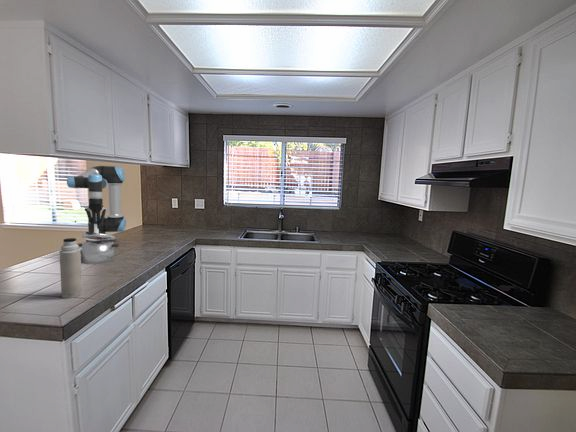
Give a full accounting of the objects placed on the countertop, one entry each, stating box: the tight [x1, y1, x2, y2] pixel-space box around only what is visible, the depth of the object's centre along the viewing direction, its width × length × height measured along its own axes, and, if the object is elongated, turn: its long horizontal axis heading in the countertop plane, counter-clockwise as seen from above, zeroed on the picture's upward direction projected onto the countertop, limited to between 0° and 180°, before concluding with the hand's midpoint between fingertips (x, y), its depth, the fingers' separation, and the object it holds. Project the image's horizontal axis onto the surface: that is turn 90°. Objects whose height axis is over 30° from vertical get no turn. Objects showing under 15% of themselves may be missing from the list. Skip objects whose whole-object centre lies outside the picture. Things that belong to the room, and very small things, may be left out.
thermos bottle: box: [59, 237, 83, 299], centre depth 139 cm, size 8×8×28 cm
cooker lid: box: [81, 231, 116, 241], centre depth 195 cm, size 23×19×4 cm
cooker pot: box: [76, 240, 120, 265], centre depth 197 cm, size 18×25×12 cm
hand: (96, 233), depth 193 cm, fingers closed
